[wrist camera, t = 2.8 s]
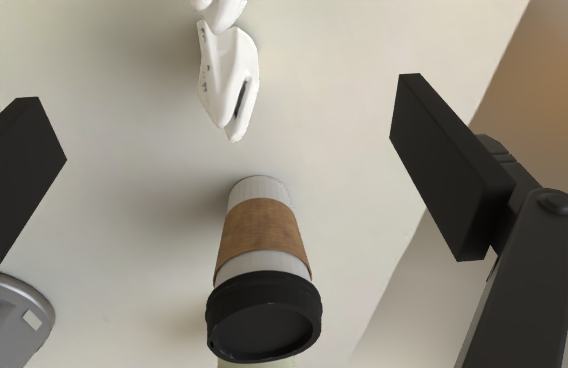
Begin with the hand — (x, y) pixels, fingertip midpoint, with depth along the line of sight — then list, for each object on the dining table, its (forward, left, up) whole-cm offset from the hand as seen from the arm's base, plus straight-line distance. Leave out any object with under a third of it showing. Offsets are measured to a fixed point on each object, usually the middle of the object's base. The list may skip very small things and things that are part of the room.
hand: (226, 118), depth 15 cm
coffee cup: (0, -18, -16) cm, 24 cm away
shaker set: (-1, 0, -16) cm, 16 cm away
